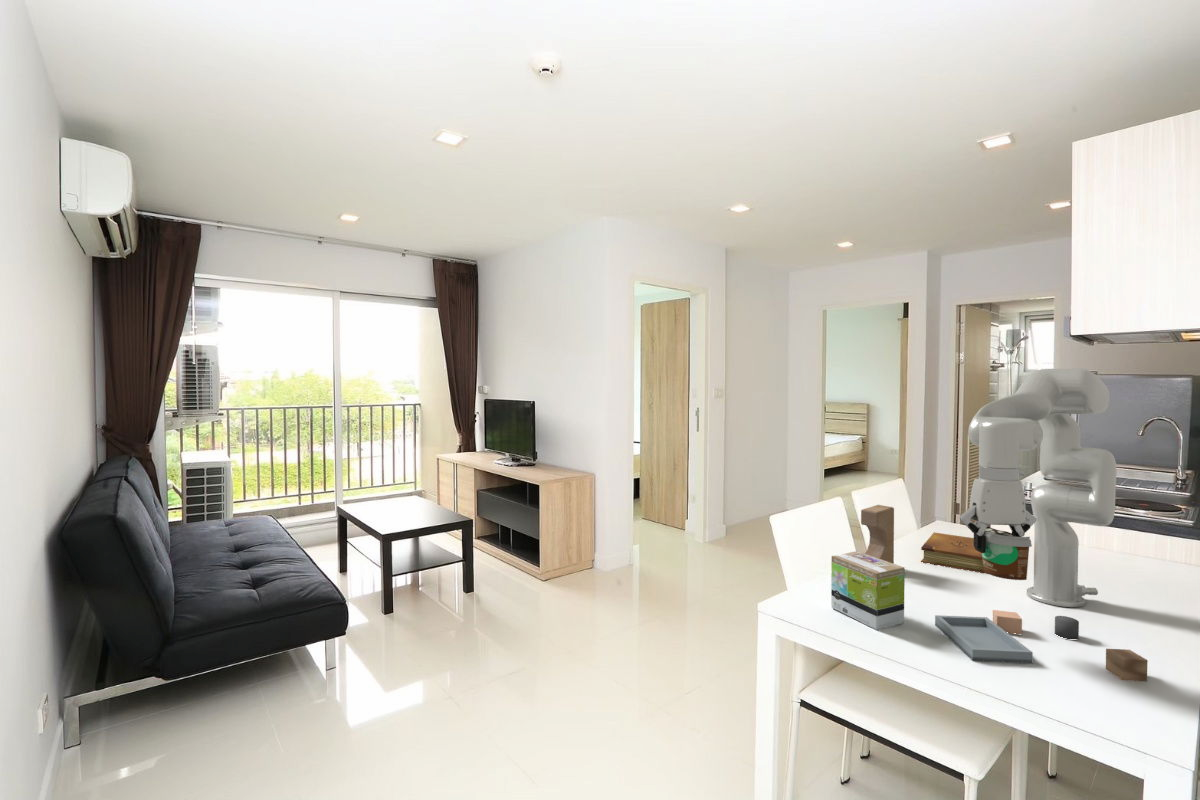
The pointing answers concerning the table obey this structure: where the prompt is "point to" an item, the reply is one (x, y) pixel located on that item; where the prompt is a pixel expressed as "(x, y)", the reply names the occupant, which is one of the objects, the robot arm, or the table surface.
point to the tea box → (868, 589)
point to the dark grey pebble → (1066, 627)
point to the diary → (952, 552)
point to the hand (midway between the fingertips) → (997, 551)
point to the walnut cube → (1126, 665)
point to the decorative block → (880, 531)
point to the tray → (983, 639)
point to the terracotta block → (1008, 621)
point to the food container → (1006, 554)
